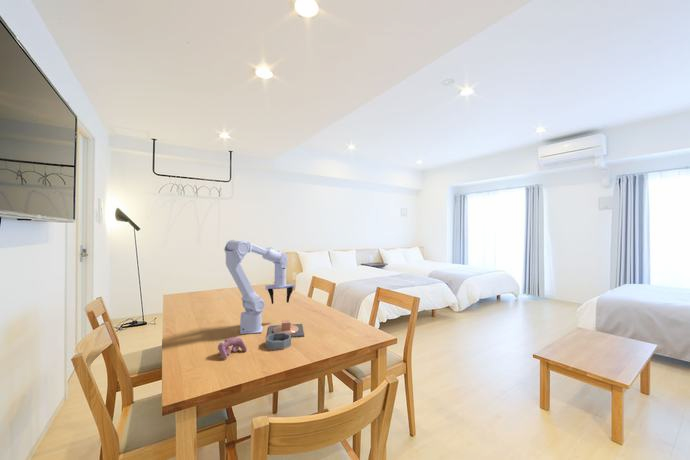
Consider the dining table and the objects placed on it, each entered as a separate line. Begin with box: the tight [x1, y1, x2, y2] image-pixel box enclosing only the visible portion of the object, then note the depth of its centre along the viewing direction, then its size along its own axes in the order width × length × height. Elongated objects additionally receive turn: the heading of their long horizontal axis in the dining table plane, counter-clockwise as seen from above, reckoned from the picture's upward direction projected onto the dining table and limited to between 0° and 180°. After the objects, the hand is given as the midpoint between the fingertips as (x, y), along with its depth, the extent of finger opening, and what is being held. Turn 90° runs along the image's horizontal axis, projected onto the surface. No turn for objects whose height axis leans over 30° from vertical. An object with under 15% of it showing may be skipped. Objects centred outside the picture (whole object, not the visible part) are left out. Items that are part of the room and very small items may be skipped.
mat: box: [267, 323, 305, 338], centre depth 134 cm, size 16×15×1 cm
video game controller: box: [217, 336, 248, 360], centre depth 111 cm, size 10×5×7 cm, turn 142°
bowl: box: [265, 333, 292, 351], centre depth 120 cm, size 10×10×3 cm
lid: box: [273, 319, 299, 335], centre depth 133 cm, size 12×12×4 cm
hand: (280, 302), depth 147 cm, fingers open, 7 cm apart
